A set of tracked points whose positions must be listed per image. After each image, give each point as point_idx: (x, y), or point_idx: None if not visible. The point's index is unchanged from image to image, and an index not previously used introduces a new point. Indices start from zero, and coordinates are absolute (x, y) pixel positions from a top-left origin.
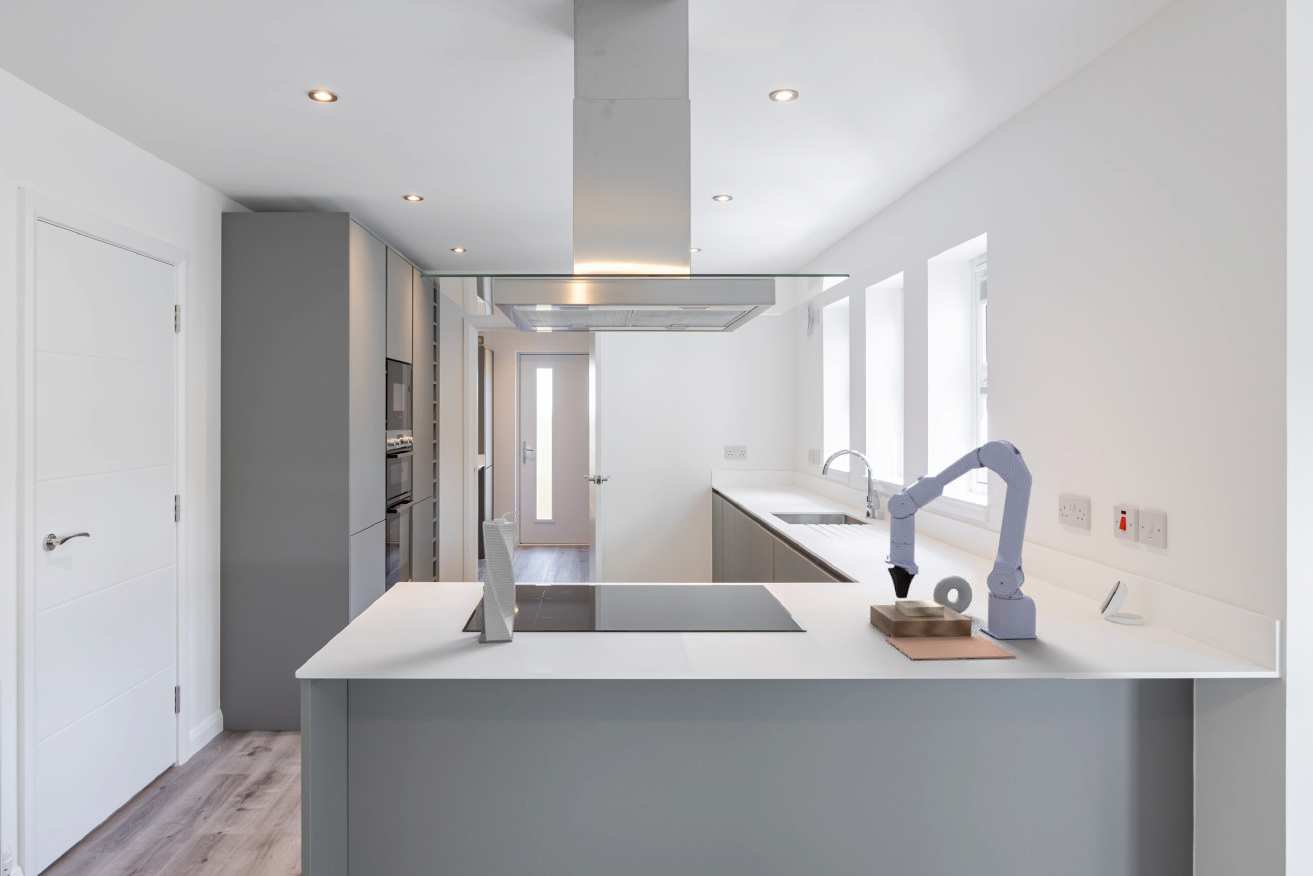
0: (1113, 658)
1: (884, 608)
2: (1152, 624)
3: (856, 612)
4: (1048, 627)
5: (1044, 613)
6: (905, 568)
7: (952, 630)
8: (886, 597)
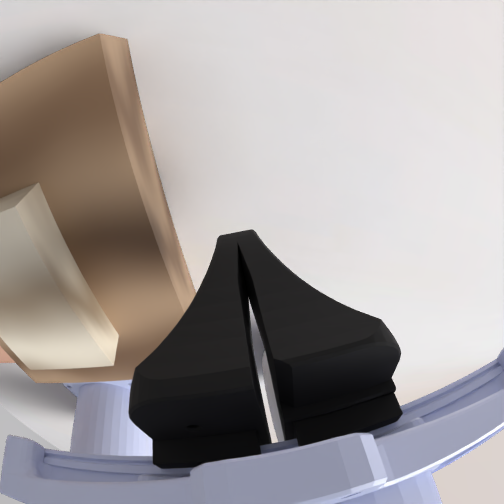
0: (58, 436)
1: (37, 122)
2: None
3: (323, 8)
4: None
5: None
6: (152, 473)
7: None
8: (492, 213)
